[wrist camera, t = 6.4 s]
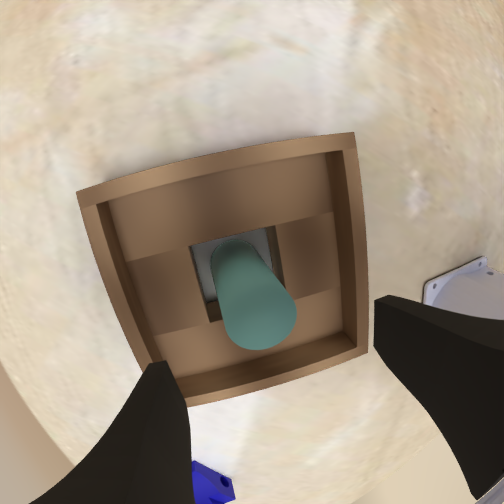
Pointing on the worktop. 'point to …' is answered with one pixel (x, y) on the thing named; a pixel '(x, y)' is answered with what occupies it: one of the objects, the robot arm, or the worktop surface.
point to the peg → (251, 297)
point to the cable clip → (210, 486)
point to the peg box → (226, 224)
